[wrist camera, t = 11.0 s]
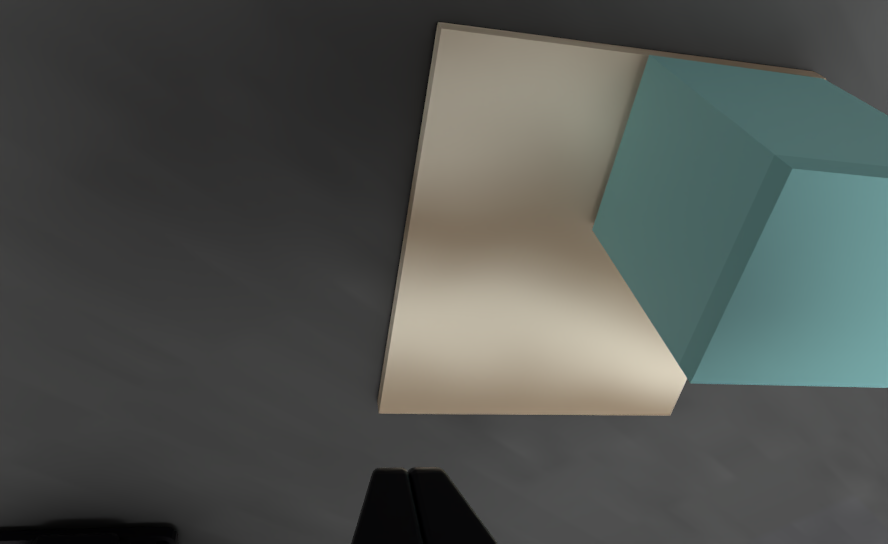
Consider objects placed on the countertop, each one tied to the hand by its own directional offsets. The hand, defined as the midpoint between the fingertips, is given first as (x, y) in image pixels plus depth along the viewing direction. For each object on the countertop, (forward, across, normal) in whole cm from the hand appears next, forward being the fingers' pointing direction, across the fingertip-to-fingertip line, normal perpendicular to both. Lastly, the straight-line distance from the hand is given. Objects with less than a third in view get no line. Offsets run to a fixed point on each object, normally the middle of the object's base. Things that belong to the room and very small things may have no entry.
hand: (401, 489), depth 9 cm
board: (+12, -8, +4) cm, 15 cm away
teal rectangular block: (+12, -10, 0) cm, 15 cm away
